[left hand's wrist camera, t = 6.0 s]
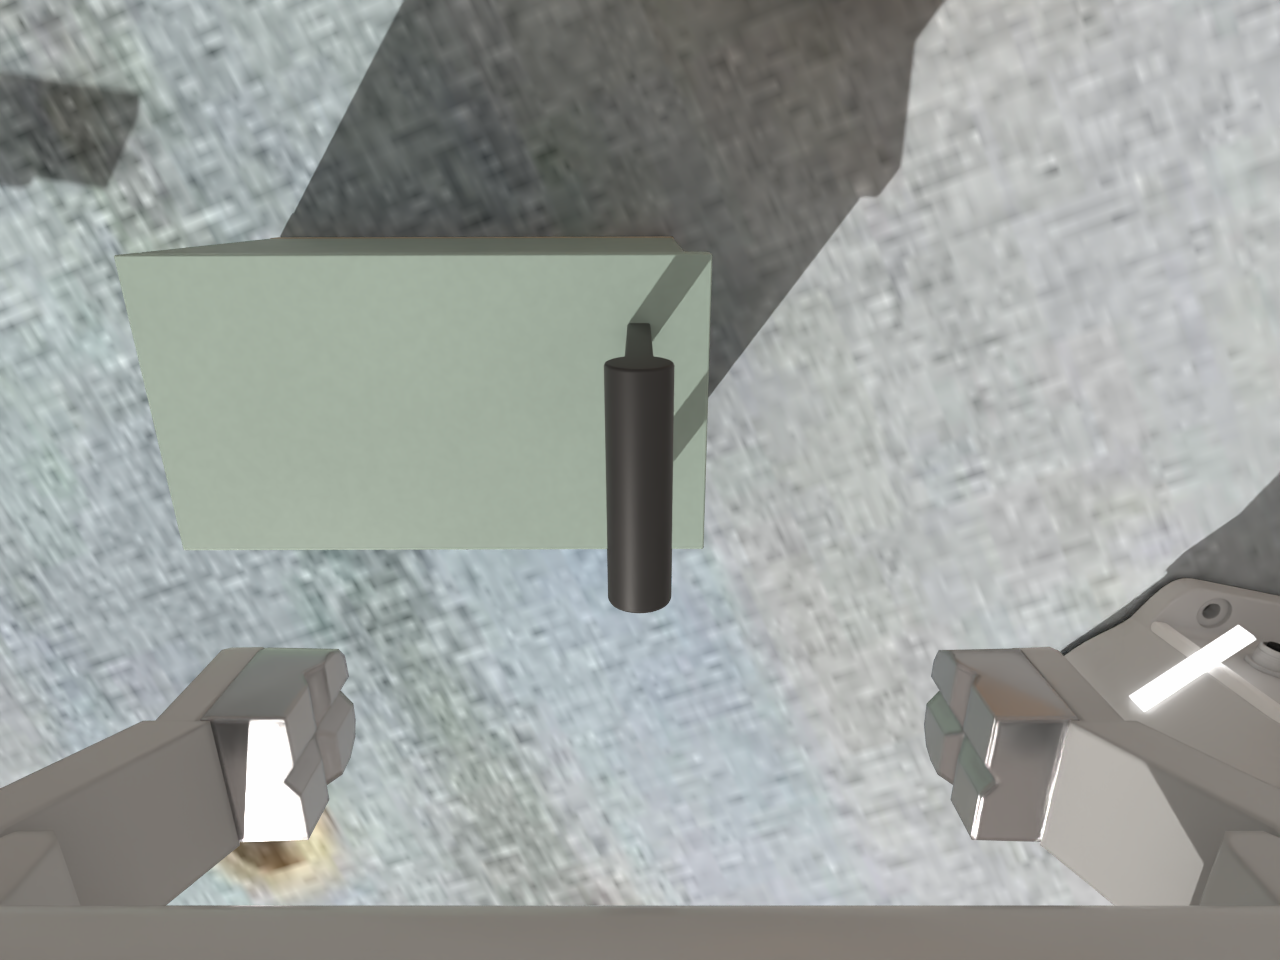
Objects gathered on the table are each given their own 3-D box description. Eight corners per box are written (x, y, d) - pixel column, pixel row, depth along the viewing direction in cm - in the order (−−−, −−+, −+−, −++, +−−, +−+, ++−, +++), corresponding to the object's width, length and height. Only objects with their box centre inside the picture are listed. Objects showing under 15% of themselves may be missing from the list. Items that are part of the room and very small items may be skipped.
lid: (709, 251, 23) (746, 278, 15) (701, 535, 26) (727, 679, 19) (135, 253, 23) (-127, 281, 15) (200, 537, 26) (12, 681, 18)
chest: (672, 236, 32) (686, 251, 23) (670, 449, 36) (681, 535, 26) (278, 237, 32) (136, 252, 23) (313, 450, 36) (201, 537, 26)
